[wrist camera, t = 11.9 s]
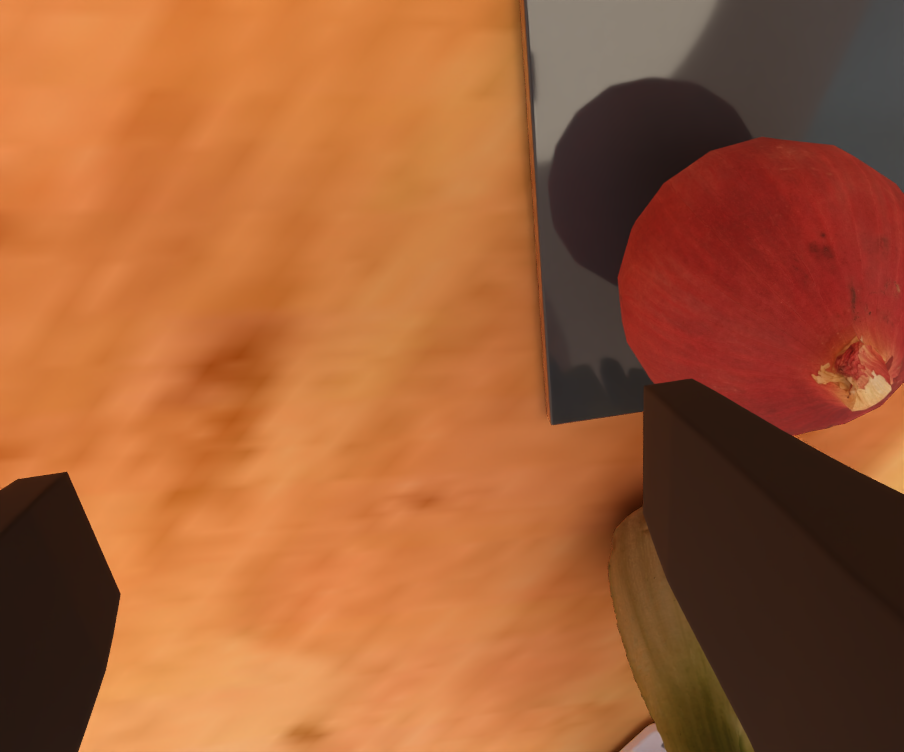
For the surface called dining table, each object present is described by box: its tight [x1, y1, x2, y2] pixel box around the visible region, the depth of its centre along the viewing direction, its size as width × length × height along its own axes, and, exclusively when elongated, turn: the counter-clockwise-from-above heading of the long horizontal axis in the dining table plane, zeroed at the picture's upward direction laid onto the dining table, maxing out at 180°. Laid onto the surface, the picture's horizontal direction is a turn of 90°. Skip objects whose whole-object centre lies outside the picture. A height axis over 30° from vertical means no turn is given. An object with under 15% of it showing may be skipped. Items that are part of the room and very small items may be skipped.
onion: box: [618, 137, 904, 436], centre depth 16 cm, size 6×6×8 cm
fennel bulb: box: [608, 505, 754, 752], centre depth 20 cm, size 6×5×12 cm
